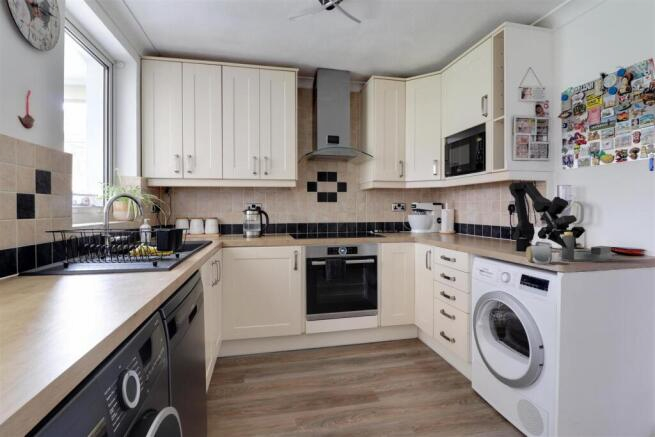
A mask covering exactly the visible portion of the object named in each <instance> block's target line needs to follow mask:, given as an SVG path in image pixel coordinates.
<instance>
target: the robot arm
mask: <svg viewBox="0 0 655 437" xmlns="http://www.w3.org/2000/svg"><path fill="white" fill-rule="evenodd" d="M508 189H509V192H510V195H511V196H512V197H513V198H514V203H515V210H516V217H517V224H516V226H515V231H514V233H513V234H512V240H515V251H517V252H526V249H527V247H530V246H532V243H531V242H530V241H533V240H534V237H535V233H536V232H535V231H536V230H535V225H534V223H532V222H531V221H530V220H529V215H528V210H527V202H526V194H527V196H528V197H529V198H530V200H531V201H532V202H533V204H532V208H534V211H535V212H536V213H539V214H541V217H540V219H539V220H540V221H545V223H546V226H541V228H540V230H539V231H538V232H537V237H538V238H539V239H547V240H548V241H551V242H553V243H556V244H557V245H559V246H561V248H562V247H566V245H565V243H564V241H563V239H562V236H564V232H573V237H575V239H574V248H577V239H579V238H580V237H581V236H582V235H583V234H584V233H585V232H586V229H585V228H584V226H572V228H571V229H569V227H570V225H571V224H574V223H576V222H577V221H578V218H577V217H576V215H574V214H569V215H562V213H563V212H564V211H565V210H566V208H567V207H568V206H569V202H568V200H566V199H564V198H562V197H560V196H554V198H553V200H552V201H551V200H550V199H549V198H546V197H544V196H543V195H542V193H541V192H540V191H539V190H538V188H536V186H535V185H534V182H533V181H530V180H529V181H528V180H527V181H526V180H525V181H517V182H516V181H514V182H511V183H510V184H509V185H508ZM559 215H561V216H559ZM547 236H548V237H547Z"/></svg>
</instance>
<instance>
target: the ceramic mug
mask: <svg viewBox="0 0 655 437" xmlns="http://www.w3.org/2000/svg"><path fill="white" fill-rule="evenodd" d="M525 254H526V259H527V261H528V262H530V263H535V264H536V265H540V266H547V265H550V264H551V263H552V260H553V259H552V258H553V253H552V249H551V247H550V246H549V245H531V246H530V247H527V249H526V251H525Z"/></svg>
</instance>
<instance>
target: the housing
mask: <svg viewBox="0 0 655 437" xmlns="http://www.w3.org/2000/svg"><path fill="white" fill-rule="evenodd" d="M611 247H612V246H607V245H606V246H605V245H597V246H591V247H590V250H585V249H577V248H574V260H575V259H578V260H585V261H594V262H604V261H610V260H612V252H611V250H612V249H611ZM558 252H559V253H558V257H559V258H562V249H560V250H559V251H558ZM609 259H610V260H609Z"/></svg>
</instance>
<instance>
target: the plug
mask: <svg viewBox="0 0 655 437" xmlns="http://www.w3.org/2000/svg"><path fill="white" fill-rule="evenodd" d="M561 238H562V239H563V241H564V243H565V245H566V247H562V246H561V250H562V257H560V258H561V259H560V260H563V261H562V262H567V261H570V262H569V263H572V262H575V258H574V249H575V247H574V239H575V237H573V232H564V235H561Z"/></svg>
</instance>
